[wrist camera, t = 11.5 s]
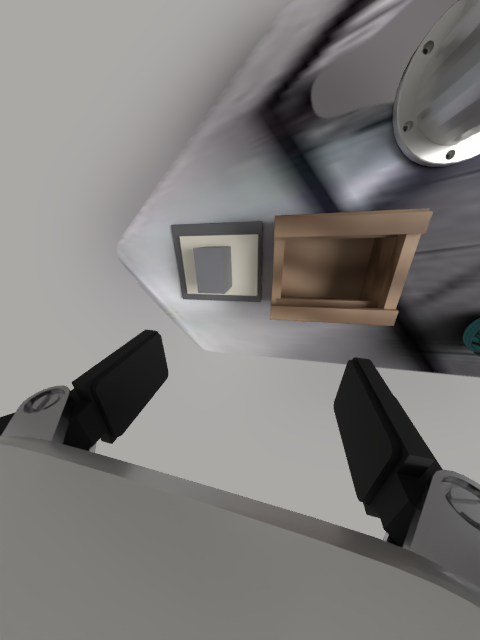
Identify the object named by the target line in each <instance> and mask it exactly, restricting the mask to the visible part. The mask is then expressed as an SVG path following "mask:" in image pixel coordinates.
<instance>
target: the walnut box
mask: <svg viewBox="0 0 480 640" xmlns="http://www.w3.org/2000/svg"><path fill="white" fill-rule="evenodd" d="M429 209H430V208H429ZM429 209H408V210H387V211H365V212H344V213H323V214H301V215H280V216H275V225H274V258H273V280H272V301H271V313H270V319H274V320H292V321H310V322H329V323H347V324H365V325H384V326H394V323H395V320H396V317H397V314H398V312H399V311H398V310H396V307H397V304H398V301H399V298H400V295H401V292H402V289H403V286H404V283H405V280H406V277H407V274H408V271H409V268H410V265H411V262H412V259H413V256H414V253H415V250H416V247H417V245H418V242H419V239H420V236H421V234H426V231H427V228H428V225H429V222H430V219H431V216H432V213H433V211H432V212H429Z"/></svg>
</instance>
